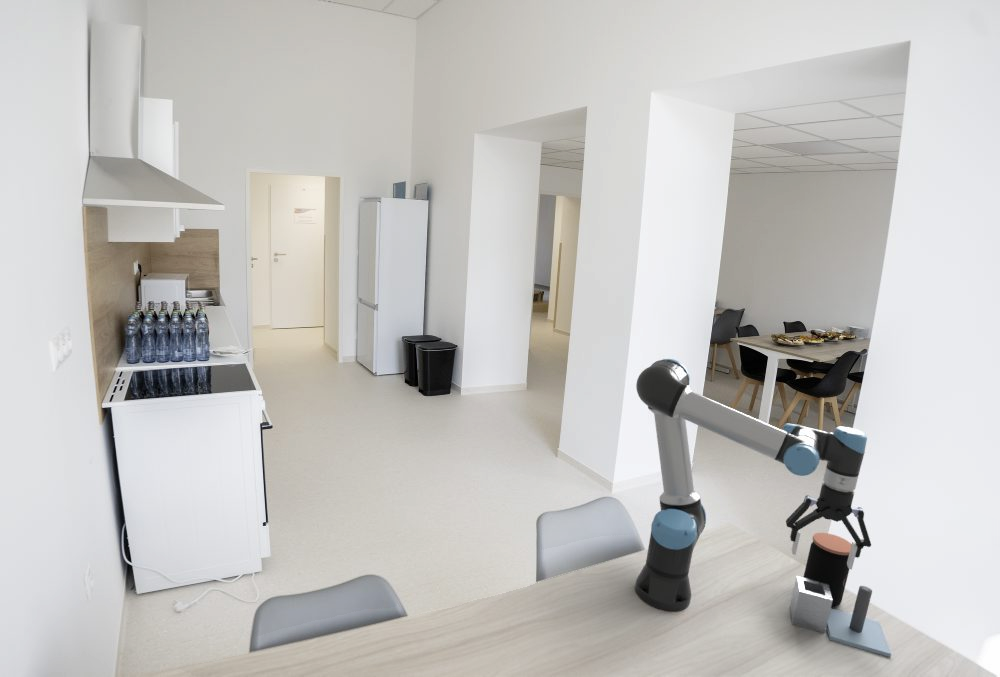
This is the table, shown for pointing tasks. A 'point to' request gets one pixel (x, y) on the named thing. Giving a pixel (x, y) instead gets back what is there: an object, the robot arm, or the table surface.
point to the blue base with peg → (858, 626)
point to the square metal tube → (810, 604)
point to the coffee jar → (829, 563)
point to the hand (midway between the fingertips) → (821, 559)
